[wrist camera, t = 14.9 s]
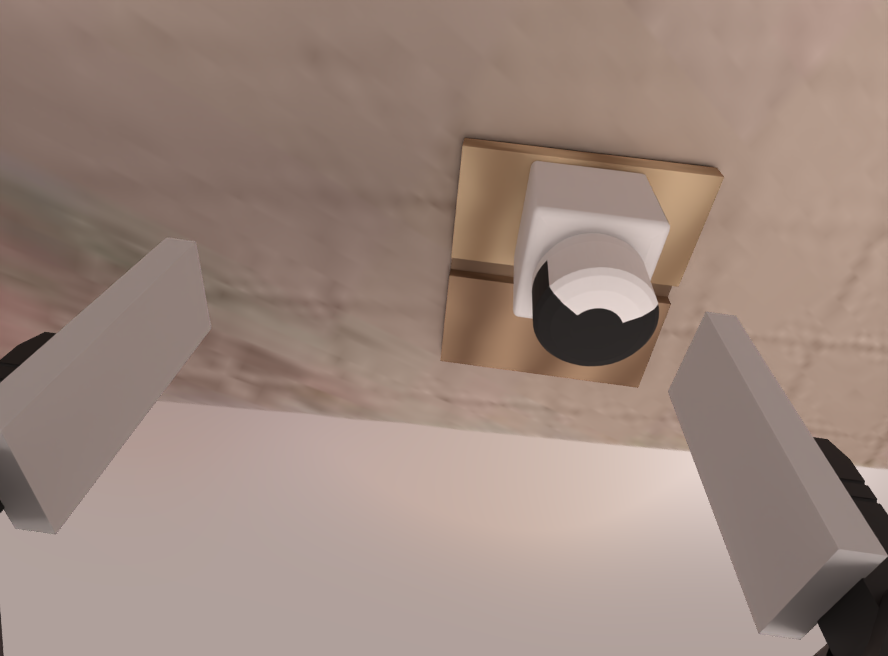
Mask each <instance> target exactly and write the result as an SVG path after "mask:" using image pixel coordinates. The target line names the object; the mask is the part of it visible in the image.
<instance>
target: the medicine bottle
mask: <svg viewBox="0 0 888 656" xmlns="http://www.w3.org/2000/svg"><path fill="white" fill-rule="evenodd" d="M669 231H670V225H669V222H668V220H667V218H666V216H665V214H664V212H663V210H662V208H661V206H660V203H659V201H658V199H657V197H656V195H655V193H654V191H653V189H652V187H651V184H650V182H649V180H648V178H647V176H646V175H644V174H641V173H633V172H625V171H617V170H609V169H601V168H592V167H584V166H576V165H568V164H560V163H551V162H543V161H535V162H533V163H532V165H531V168H530V174H529V179H528V184H527V190H526V195H525V200H524V206H523V211H522V216H521V222H520V227H519V232H518V238H517V243H516V248H515V254H514V286H513V313H514V314H515V315H516V316H518V317H524V318H532V319H533V328H534V333H535V335H536V337H537V339H538V341H539V343H540V344H541V345H542V346H543V348H544V349H545V350H547V351H548V352H549V353H550V354H551V355H553V356H555V357H556V358H558V359H560V360H562V361H565V362H568V363H571V364H575V365H579V366H604V365H609V364H613V363H616V362H619V361H621V360H624V359H626V358H627V357H629V356H631V355H633V354H634V353H635V352H637V351H638V350H640V349H641V348H642V347H643V346H644V345H645V344H646V343H647V342H648V341H649V339H650V338H651V337H652V335H653V333H654V332H655V329H656V327H657V324H658V320H659V305H658V301H657V299H656V296H655V293H654V290H653V287H652V284H651V278H652V275H653V273H654V270H655V267H656V265H657V262H658V260H659V257H660V254H661V252H662V249H663V246H664V244H665V241H666V238H667V236H668V233H669Z"/></svg>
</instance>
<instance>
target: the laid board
mask: <svg viewBox="0 0 888 656" xmlns="http://www.w3.org/2000/svg"><path fill="white" fill-rule="evenodd" d="M651 284H652V287H653V290H654V293H655V296H656V299H657V301H658V305H659V320H658V324H657V327H656V329H655V332H654V333H653V335H652V337H651V338H650V339H649V341H648V342H647V343H646V344H645V345H644V346H643V347H642V348H641V349H640V350H638V351H637V352H635V353H634V354H633V355H631V356H629V357H627V358H626V359H624V360H621V361H619V362H616V363H613V364H609V365H604V366H579V365H575V364H571V363H568V362H565V361H562V360H560V359H558V358H556V357H555V356H553V355H551V354H550V353H549V352H548V351H547V350H545V349H544V348H543V346H542V345H541V344H540V343H539V341H538V339H537V337H536V335H535V333H534V328H533V319H532V318H524V317H518V316H516V315H515V314H514V313H513V286H514V266H513V265H505V264H498V263H490V262H482V261H474V260H466V259H459V258H452V262H451V270H450V275H449V284H448V294H447V303H446V313H445V322H444V332H443V342H442V351H441V361H446V362H453V363H460V364H468V365H475V366H483V367H490V368H497V369H505V370H512V371H519V372H527V373H534V374H542V375H549V376H556V377H564V378H571V379H578V380H586V381H593V382H600V383H608V384H615V385H623V386H630V387H637V388H638V387H639V384H640V381H641V379H642V376H643V374H644V371H645V369H646V366H647V364H648V361H649V359H650V356H651V353H652V351H653V348H654V346H655V343H656V341H657V338H658V336H659V333H660V331H661V328H662V326H663V323H664V320H665V318H666V315H667V313H668V310H669V308H670V305H671V303H670V301H669V299H668V295H669V292H670V290H671V287H672V286H670V285H662V284H654V283H651Z"/></svg>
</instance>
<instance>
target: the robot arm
mask: <svg viewBox="0 0 888 656" xmlns="http://www.w3.org/2000/svg"><path fill="white" fill-rule="evenodd" d="M210 330H211V322H210V317H209V311H208V305H207V300H206V294H205V289H204V283H203V277H202V272H201V266H200V260H199V255H198V249H197V244H196V241H190V240H183V239H176V238H168V237H166V238H165V239H164V240H163V241H162V242H161V243H159V244H158V245H157V246H156V247H155V248H154V249H153V250H151V251H150V252H149V253H148V254H147V255H146V256H145V257H143V258H142V259H141V260H140V261H139V262H138V263H137V264H135V265H134V266H133V267H132V268H131V269H130V270H129V271H127V272H126V273H125V274H124V275H123V276H122V277H121V278H119V279H118V280H117V281H116V282H115V283H114V284H113V285H111V286H110V287H109V288H108V289H107V290H106V291H105V292H103V293H102V294H101V295H100V296H99V297H98V298H97V299H95V300H94V301H93V302H92V303H91V304H90V305H89V306H87V307H86V308H85V309H84V310H83V311H82V312H81V313H79V314H78V315H77V316H76V317H75V318H74V319H73V320H71V321H70V322H69V323H68V324H67V325H66V326H65V327H63V328H62V329H61V330H60V331H59V332H58V333H50V332H44V333H42V334H40V335H38V336H36V337H34V338H32V339H30V340H28V341H25V342H23V343H21V344H19V345H18V346H16V347H15V348H14V349H13V350H12V351H10V352H9V353H8V354H7V355H6V356H4V357H3V358H2V359H1V360H0V513H1V512H2V511H3V509H4V511H5V512H6V514H7V516H8V517H9V519H10V520H11V522H12V524H13V526H14V527H15V528H16V529H22V530H29V531H36V532H43V533H51V534H57V532H58V531H59V529H60V528H61V527H62V526H63V524H64V523H65V522H66V520H67V519H68V518H69V516H70V515H71V514H72V512H73V511H74V510H75V508H76V507H77V506H78V504H79V503H80V502H81V500H82V499H83V498H84V497H85V495H86V494H87V493H88V491H89V490H90V488H91V487H92V486H93V485H94V483H95V482H96V480H97V479H98V478H99V477H100V475H101V474H102V473H103V471H104V470H105V469H106V467H107V466H108V465H109V463H110V462H111V461H112V459H113V458H114V457H115V455H116V454H117V452H118V451H119V450H120V449H121V447H122V446H123V445H124V443H125V442H126V441H127V440H128V438H129V437H130V436H131V434H132V433H133V432H134V430H135V429H136V428H137V426H138V425H139V424H140V422H141V421H142V420H143V418H144V417H145V416H146V414H147V413H148V412H149V410H150V409H151V408H152V406H153V405H154V404H155V402H156V401H157V400H158V398H159V397H160V396H161V394H162V393H163V392H164V390H165V389H166V388H167V387H168V385H169V384H170V383H171V381H172V380H173V379H174V377H175V376H176V375H177V373H178V372H179V371H180V369H181V368H182V367H183V365H184V364H185V363H186V361H187V360H188V359H189V357H190V356H191V355H192V353H193V352H194V351H195V349H196V348H197V347H198V345H199V344H200V343H201V341H202V340H203V339H204V337H205V336H206V335H207V333H208V332H209V331H210ZM668 393H669V396H670V398H671V401H672V404H673V406H674V409H675V412H676V414H677V417H678V420H679V422H680V425H681V428H682V430H683V433H684V436H685V438H686V441H687V444H688V446H689V449H690V452H691V454H692V457H693V460H694V462H695V465H696V467H697V470H698V473H699V476H700V478H701V481H702V484H703V486H704V489H705V492H706V494H707V497H708V499H709V502H710V505H711V507H712V510H713V513H714V516H715V518H716V521H717V523H718V526H719V529H720V531H721V534H722V537H723V540H724V542H725V545H726V548H727V550H728V553H729V555H730V558H731V561H732V564H733V566H734V569H735V571H736V574H737V577H738V579H739V582H740V585H741V588H742V590H743V593H744V595H745V598H746V601H747V603H748V606H749V609H750V611H751V614H752V617H753V620H754V622H755V625H756V627H757V630H758V633H759V634H763V635H770V636H777V637H784V638H792V639H799V640H801V638H803V637H804V636H805V635H806V634H807V633H808V632H809V631H810V630H811V629H812V628H813V627H814V626H815V625H816V624H817V623H818V625H819V627H820V629H821V631H822V633H823V635H824V637H825V639H826V642H827V644H826V645H825V646H824V647H823V648H822V649H820V650H819V651H818V652H817V653H816V654H815V655H814V656H888V514H887V513H886V512H885V510H884V509H883V507H882V506H881V504H878V503H877V498H876V497H875V495H874V494H873V492H872V491H871V489H870V488H869V487H868V486H866V485H865V484H864V482H865V481H864V479H863V478H862V476H861V475H860V473H859V472H858V470H857V469H856V467H855V466H854V464H853V463H852V461H851V460H850V459H849V458H848V457H847V456H846V455H845V454H843V453H842V452H841V451H840V450H839V449H838V448H837V447H836V446H835V445H833V444H832V443H831V442H830V441H829V440H828V439H822V438H815V437H812V435H811V433H810V432H809V430H808V429H807V427H806V425H805V424H804V422H803V421H802V419H801V418H800V416H799V414H798V413H797V411H796V410H795V408H794V407H793V405H792V403H791V402H790V400H789V399H788V397H787V396H786V394H785V392H784V391H783V389H782V388H781V386H780V385H779V383H778V381H777V380H776V378H775V377H774V375H773V374H772V372H771V370H770V369H769V367H768V366H767V364H766V362H765V361H764V359H763V358H762V356H761V355H760V353H759V351H758V350H757V348H756V347H755V345H754V344H753V342H752V340H751V339H750V337H749V336H748V334H747V333H746V331H745V329H744V328H743V326H742V325H741V323H740V322H739V320H738V318H737V317H736V316H734V315H727V314H720V313H712V312H705V315H704V317H703V319H702V321H701V323H700V325H699V327H698V329H697V331H696V333H695V336H694V338H693V340H692V342H691V344H690V346H689V348H688V350H687V352H686V355H685V357H684V359H683V361H682V363H681V365H680V367H679V369H678V371H677V374H676V376H675V378H674V380H673V382H672V384H671V386H670V388H669V390H668ZM0 656H4V655H3V641H2V628H1V614H0Z"/></svg>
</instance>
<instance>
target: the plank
mask: <svg viewBox="0 0 888 656" xmlns="http://www.w3.org/2000/svg"><path fill="white" fill-rule="evenodd" d="M535 161H543V162H551V163H560V164H568V165H576V166H584V167H592V168H601V169H609V170H617V171H625V172H633V173H641V174H644V175H646V176H647V178H648V180H649V182H650V184H651V187H652V189H653V191H654V193H655V195H656V197H657V199H658V201H659V203H660V206H661V208H662V210H663V212H664V214H665V216H666V218H667V220H668V222H669V225H670V231H669V233H668V236H667V238H666V241H665V244H664V246H663V249H662V252H661V254H660V257H659V260H658V262H657V265H656V267H655V270H654V273H653V275H652V278H651V283H654V284H662V285H670V286H679V284H680V281H681V279H682V277H683V274H684V272H685V269H686V267H687V265H688V262H689V260H690V258H691V255H692V253H693V250H694V248H695V246H696V243H697V241H698V238H699V236H700V234H701V231H702V229H703V226H704V224H705V222H706V219H707V217H708V214H709V212H710V210H711V207H712V205H713V202H714V200H715V198H716V195H717V193H718V191H719V188H720V186H721V183H722V181H723V179H724V176H723V175H722V174H721V172H720V171H719V170H718V168H714V167H706V166H698V165H689V164H681V163H672V162H664V161H656V160H647V159H639V158H630V157H622V156H613V155H605V154H597V153H588V152H580V151H571V150H563V149H554V148H546V147H538V146H529V145H521V144H512V143H504V142H496V141H487V140H479V139H470V138H464V142H463V146H462V156H461V166H460V176H459V186H458V195H457V205H456V215H455V225H454V235H453V245H452V255H451V258H459V259H466V260H474V261H482V262H490V263H498V264H505V265H513V266H514V254H515V248H516V243H517V238H518V232H519V227H520V222H521V216H522V211H523V206H524V200H525V195H526V190H527V184H528V179H529V174H530V168H531V165H532V163H533V162H535Z"/></svg>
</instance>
